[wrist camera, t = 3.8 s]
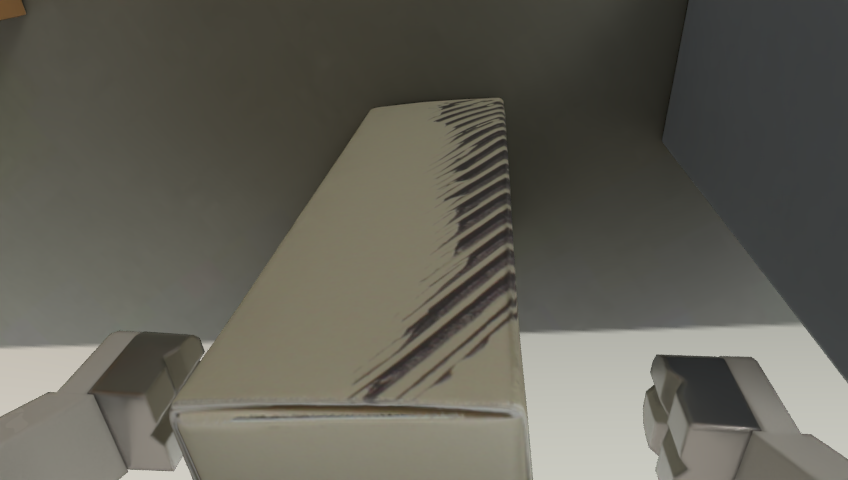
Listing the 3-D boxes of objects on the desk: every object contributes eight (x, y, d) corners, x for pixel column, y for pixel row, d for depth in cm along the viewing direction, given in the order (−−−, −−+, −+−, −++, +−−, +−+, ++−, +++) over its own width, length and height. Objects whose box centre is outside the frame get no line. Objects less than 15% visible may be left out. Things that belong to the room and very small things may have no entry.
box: (510, 237, 19) (544, 670, 8) (385, 243, 20) (260, 655, 9) (504, 84, 17) (542, 416, 6) (361, 95, 17) (141, 418, 6)
